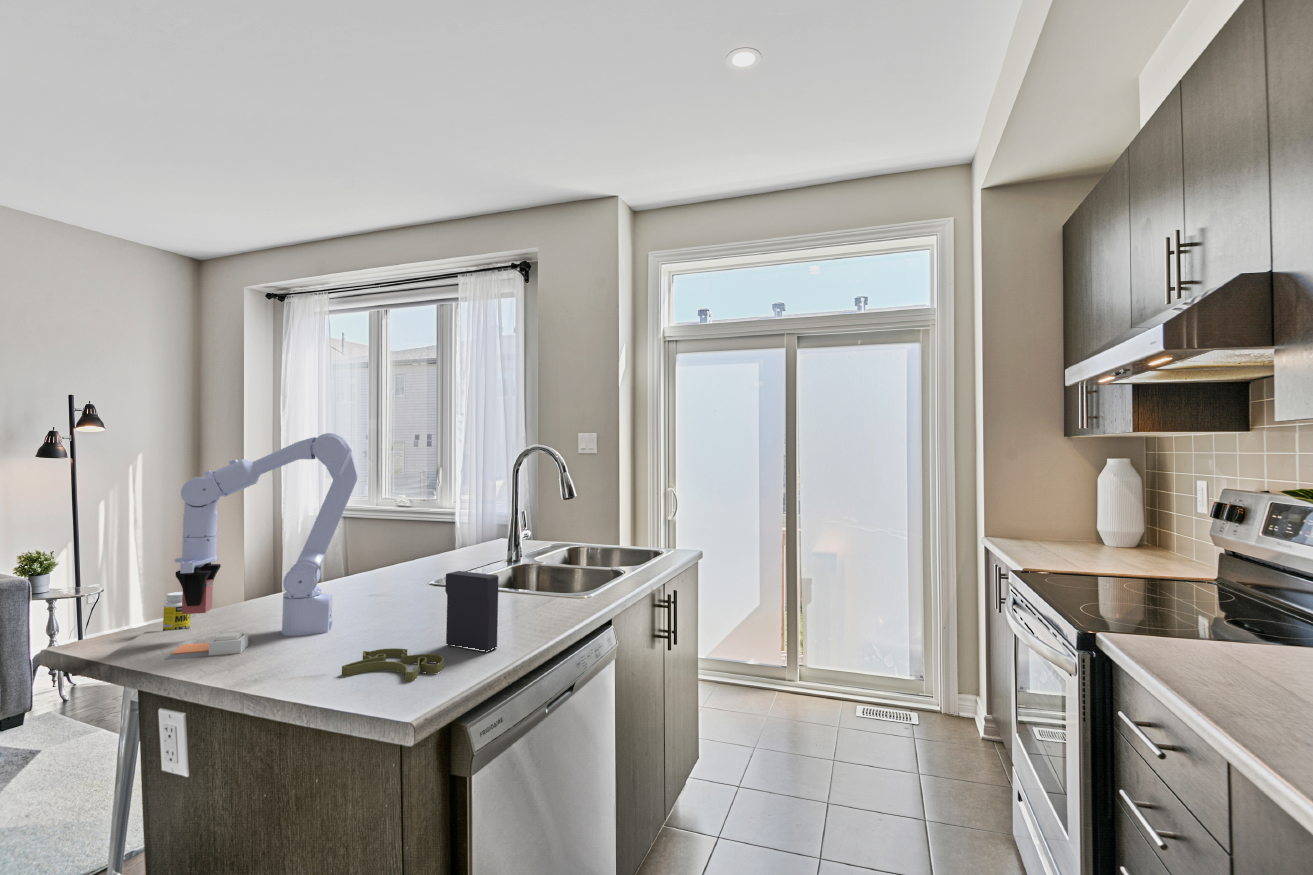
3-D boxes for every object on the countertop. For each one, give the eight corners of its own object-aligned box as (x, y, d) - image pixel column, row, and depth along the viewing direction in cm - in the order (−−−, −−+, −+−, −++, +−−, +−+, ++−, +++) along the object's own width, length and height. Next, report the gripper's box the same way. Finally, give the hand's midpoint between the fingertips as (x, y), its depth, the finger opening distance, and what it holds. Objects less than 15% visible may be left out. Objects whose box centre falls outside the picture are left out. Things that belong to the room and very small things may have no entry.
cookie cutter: (330, 677, 113) (331, 665, 113) (373, 656, 124) (373, 646, 124) (422, 685, 109) (422, 673, 109) (457, 663, 121) (457, 653, 121)
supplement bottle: (175, 635, 136) (176, 596, 136) (156, 634, 137) (158, 594, 137) (195, 629, 140) (196, 591, 141) (177, 628, 141) (179, 590, 142)
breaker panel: (252, 646, 129) (252, 628, 129) (240, 659, 120) (240, 640, 120) (181, 651, 125) (182, 633, 125) (163, 665, 116) (164, 646, 116)
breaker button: (242, 645, 124) (242, 630, 125) (237, 651, 121) (237, 635, 121) (220, 647, 123) (221, 631, 123) (214, 652, 120) (215, 636, 120)
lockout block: (212, 608, 132) (213, 579, 132) (205, 612, 128) (206, 582, 128) (188, 609, 130) (189, 580, 130) (181, 614, 126) (182, 584, 127)
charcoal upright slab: (499, 648, 130) (501, 574, 130) (485, 653, 126) (487, 577, 126) (458, 641, 134) (459, 569, 135) (443, 646, 130) (445, 573, 131)
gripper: (189, 532, 135) (186, 596, 134) (162, 541, 121) (159, 612, 121) (228, 531, 137) (225, 594, 137) (206, 539, 124) (203, 609, 123)
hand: (197, 602), depth 129 cm, fingers closed on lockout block, 4 cm apart
